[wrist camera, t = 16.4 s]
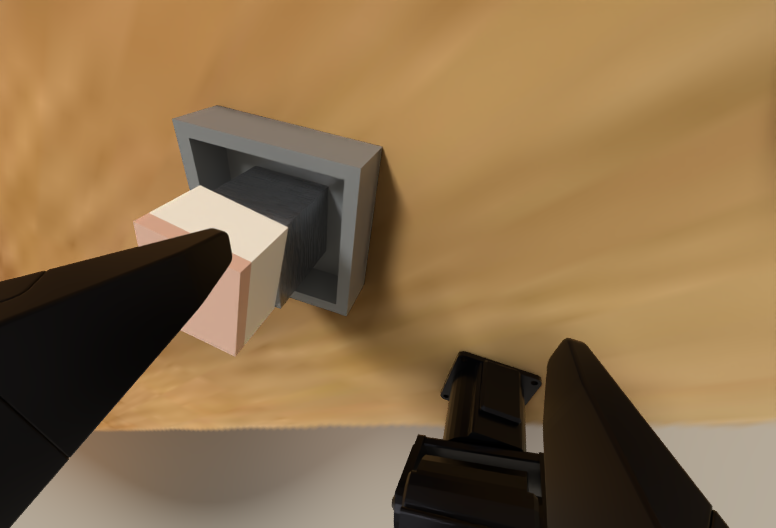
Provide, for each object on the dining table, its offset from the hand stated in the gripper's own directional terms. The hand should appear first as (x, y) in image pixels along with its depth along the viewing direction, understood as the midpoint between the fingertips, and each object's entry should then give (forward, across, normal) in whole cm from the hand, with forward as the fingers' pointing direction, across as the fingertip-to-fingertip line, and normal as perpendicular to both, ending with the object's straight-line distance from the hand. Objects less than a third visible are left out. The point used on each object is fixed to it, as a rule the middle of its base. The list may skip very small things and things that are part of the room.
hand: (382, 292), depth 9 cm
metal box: (+11, +9, +6) cm, 16 cm away
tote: (+12, +9, +6) cm, 16 cm away
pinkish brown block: (+5, +9, +5) cm, 11 cm away
